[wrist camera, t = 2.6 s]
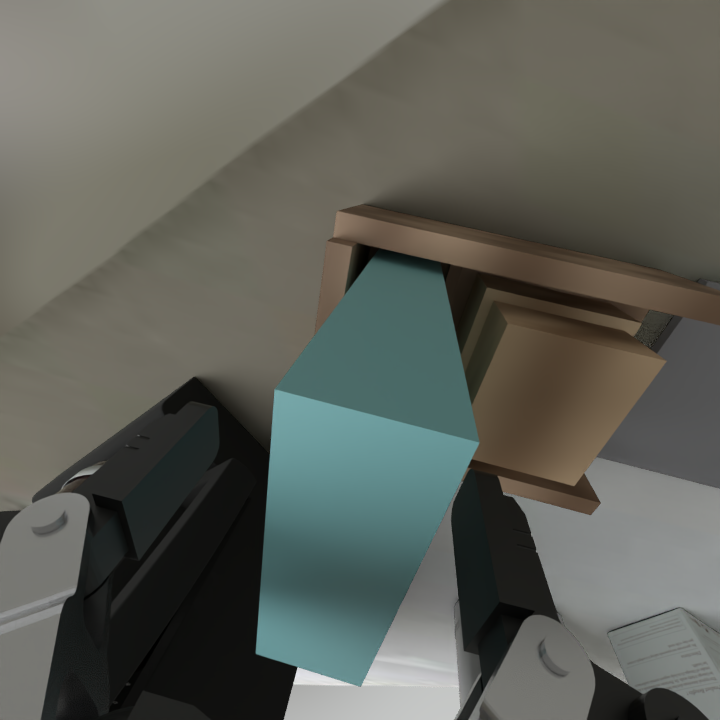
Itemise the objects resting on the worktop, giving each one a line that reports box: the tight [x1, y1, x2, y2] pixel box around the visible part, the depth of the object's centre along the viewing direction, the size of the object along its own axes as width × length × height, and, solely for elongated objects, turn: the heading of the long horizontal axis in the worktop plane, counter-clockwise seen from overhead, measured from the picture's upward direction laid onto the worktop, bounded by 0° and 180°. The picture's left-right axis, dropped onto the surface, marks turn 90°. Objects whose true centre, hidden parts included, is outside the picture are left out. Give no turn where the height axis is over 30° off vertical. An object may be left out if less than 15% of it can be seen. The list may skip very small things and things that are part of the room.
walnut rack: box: [314, 204, 720, 515], centre depth 17 cm, size 16×12×7 cm
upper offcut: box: [465, 301, 667, 486], centre depth 16 cm, size 6×7×3 cm
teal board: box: [256, 248, 480, 686], centre depth 13 cm, size 3×9×15 cm, turn 169°
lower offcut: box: [456, 273, 642, 373], centre depth 18 cm, size 7×8×3 cm
